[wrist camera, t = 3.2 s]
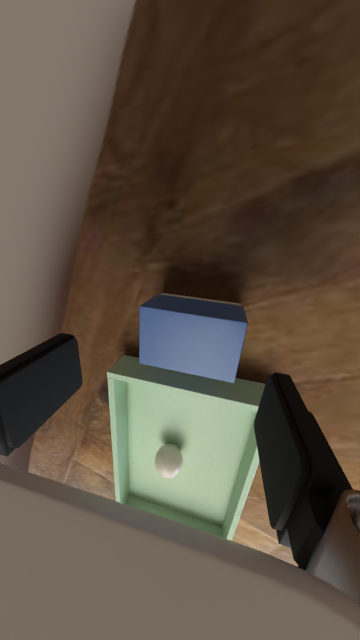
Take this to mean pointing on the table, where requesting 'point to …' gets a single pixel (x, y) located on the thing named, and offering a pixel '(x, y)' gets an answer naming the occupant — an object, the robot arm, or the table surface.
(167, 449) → the off-white round ball
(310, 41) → the table surface
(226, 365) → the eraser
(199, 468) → the tray
